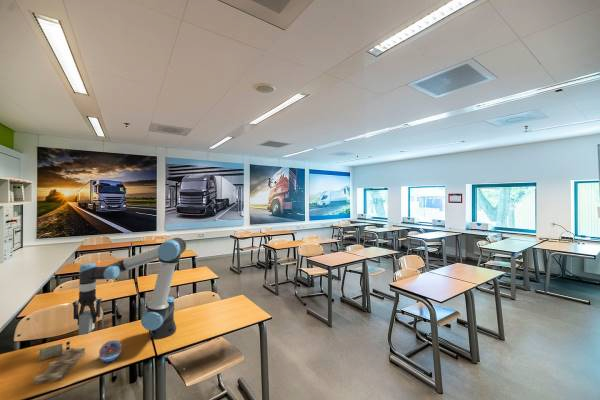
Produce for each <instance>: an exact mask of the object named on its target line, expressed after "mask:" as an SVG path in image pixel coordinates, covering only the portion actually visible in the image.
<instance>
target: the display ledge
mask: <svg viewBox="0 0 600 400" xmlns="http://www.w3.org/2000/svg"><path fill="white" fill-rule="evenodd" d="M85 354H86V347H80V348H72V349H69V350H66V349H62V355H60V356H59V357H58V358H57V359H56V360H55V361H50V362H49V364H48V365H49V366H48V367H47V368H46V370H45V371H43V372H42V373H41V374H40V375H35V376H34V377H33V378H34V381H33V384H34V385H39V384H44V383H45V384H46V383H51V382H59V381H62V380H63V378H64V377H65V376H66V375H67V374H68V373H69V372H70V371H71V370H72V368H73V367H74V366H75V365H76V364H77V363H78V362H79V361H80V360H81V359H82V357H83V356H84V355H85Z"/></svg>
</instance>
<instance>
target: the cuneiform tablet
mask: <svg viewBox="0 0 600 400" xmlns="http://www.w3.org/2000/svg"><path fill="white" fill-rule="evenodd" d="M65 344H66V345H65V350H70V345H71V342H70V340H69V341H67V342H66V343H65ZM62 351H63V343H57V344H54V345H50V346H46V347H44V348H40V349H39V351H38V352H39V353H38V354H39V355H38V361H39V362H41V361H43V360H47V359H51V358H55V357H58V356H59V357H60V356H61V355H62Z"/></svg>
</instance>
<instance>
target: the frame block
mask: <svg viewBox="0 0 600 400" xmlns="http://www.w3.org/2000/svg"><path fill="white" fill-rule="evenodd" d="M91 318H92V314H91V311H90V309H89V310H84V312H83V313H82V314H81V315H80V316H79V325H78V335H79V336H83V335H88V334H90V333H91V332H92V331H93V330H94V329H95V327H94V328H93V329H92V330H91Z"/></svg>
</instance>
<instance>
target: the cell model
mask: <svg viewBox="0 0 600 400" xmlns="http://www.w3.org/2000/svg"><path fill="white" fill-rule="evenodd" d="M122 346H123V344H121V342H120V341H119V340H117V339H111V340H108V341H107V342H105V343H104V344H103V345H101V347H100V349H99V351H98V353H99V355H98V357H99V359H100V361H102V362H103V363H104V362H105V363H111V362H113V361H114V360H116V359H117V358H118V357H120V356H119V355H120V354H121V352H122Z"/></svg>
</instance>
